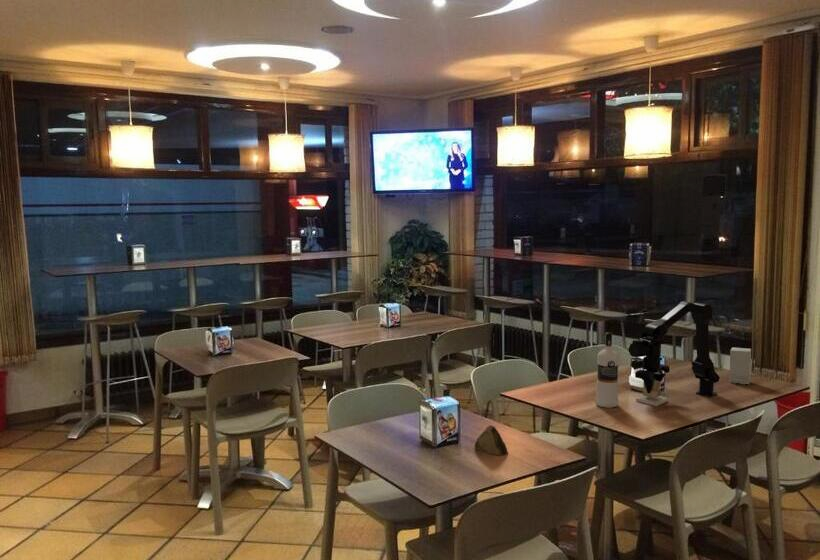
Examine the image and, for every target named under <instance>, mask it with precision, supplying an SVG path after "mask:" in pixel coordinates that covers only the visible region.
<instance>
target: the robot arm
mask: <svg viewBox="0 0 820 560" xmlns="http://www.w3.org/2000/svg"><path fill="white" fill-rule="evenodd" d="M688 313H690V315H691V319H692V320H693V322H694V324H695V340H696V341H695V343H696V357H695V359H694V360H692V361H691V371H692V372H693V374H694V378H695V379H698V380H699V384H698V385H699V387H698V391H697V392H695V394H696V395H700V396H705V397H706V396H707V397H710V398H711V397H713V396H715V395H717V392H716V391H715V392H714V390H715V384H716V383H719V381H720V378H721V377H720V376H719V374H718V373H717V372H716V371H715V365H714V363H713V360H712V359H711V356H710V333H709V328H710V327H709V324H710V323H711V321H712V319H713V306H711V305H710V304H708V303H702V302H694V303H692V302H690V301H683V300H682V301H680V302H679V304H678V305H677V306H675V307H674V308H672V309H671V310H670V311H669V312H667V313H666V314H665V315H664V316H663V317H661V318H659V319H657V320H653V321H651V322H649V323H648V324H645V327H644V329H643V331H642V332H641V334H640V336H639V337H638V339H637V340H636V339H633V340H632V341H631V342H632V343H630V344H629V347H628V353H629V356H631V357H632V358H639V357H643V358H642V359H641V360H640V359H639V360H638V359H632V360H631V361H630V364H631V365H630V367H631V368H632V369H633V370H634V371H635V370H636V372H634V373H635V374H634V375H635V376H634V378H636V379H641V380H642V381H643V384H644V383H645V387H646V390H647V393H651V390H652V387H653V385H654V382H655V380H656V381H661V382H662V381H663V380H664V379H665V376H666V375H667V374H668V373H670V371H671V369H670V366H669V365H668V364H664V363H663V364H662V363H661V361H663V358H664V357H662V345H666V344H667V342H666V341H664V339H663V338H664V337H665V336H666V335H667V334H668V331H669V329H670V328H671V327H672V326H674V324H676V323H677V322H678V321H680V320H682V318H683V317H685V316H686V315H688ZM639 369H640V370H639ZM663 372H664V373H663Z"/></svg>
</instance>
